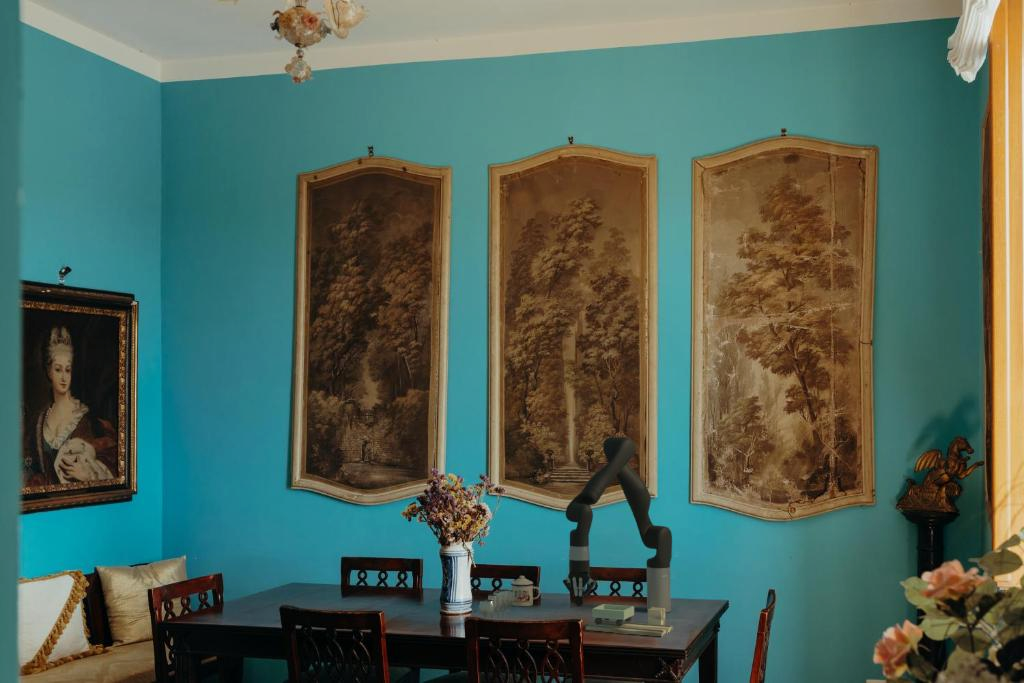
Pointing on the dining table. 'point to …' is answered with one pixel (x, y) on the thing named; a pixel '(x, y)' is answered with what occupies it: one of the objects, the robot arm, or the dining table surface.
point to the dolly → (613, 613)
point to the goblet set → (497, 603)
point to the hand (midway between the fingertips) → (579, 606)
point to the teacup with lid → (523, 592)
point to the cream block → (656, 616)
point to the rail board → (631, 628)
